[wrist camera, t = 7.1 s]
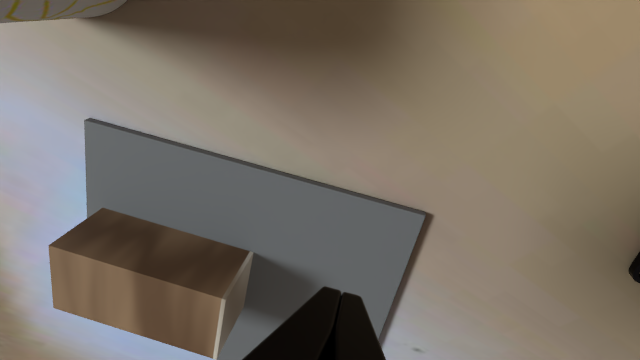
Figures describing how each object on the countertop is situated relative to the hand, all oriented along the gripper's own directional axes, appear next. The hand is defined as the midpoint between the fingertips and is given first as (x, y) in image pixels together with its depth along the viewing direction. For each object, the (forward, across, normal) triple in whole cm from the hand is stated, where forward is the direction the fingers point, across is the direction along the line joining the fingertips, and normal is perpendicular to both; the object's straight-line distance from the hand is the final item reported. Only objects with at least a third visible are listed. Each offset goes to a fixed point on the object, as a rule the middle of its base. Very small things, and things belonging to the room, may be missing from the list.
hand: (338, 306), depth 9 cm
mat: (+12, +6, +10) cm, 16 cm away
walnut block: (+9, +5, +10) cm, 14 cm away
